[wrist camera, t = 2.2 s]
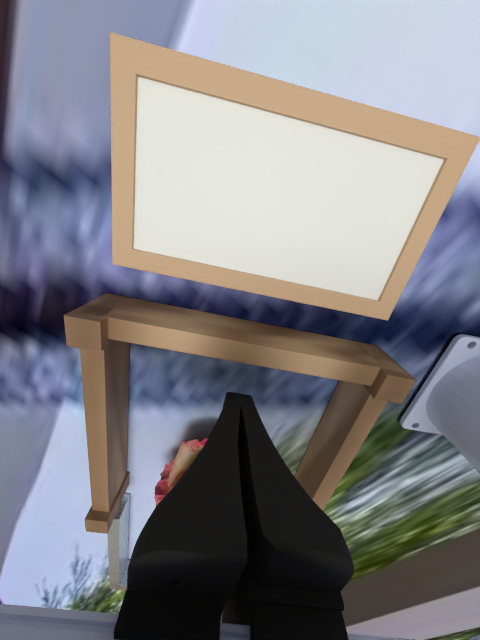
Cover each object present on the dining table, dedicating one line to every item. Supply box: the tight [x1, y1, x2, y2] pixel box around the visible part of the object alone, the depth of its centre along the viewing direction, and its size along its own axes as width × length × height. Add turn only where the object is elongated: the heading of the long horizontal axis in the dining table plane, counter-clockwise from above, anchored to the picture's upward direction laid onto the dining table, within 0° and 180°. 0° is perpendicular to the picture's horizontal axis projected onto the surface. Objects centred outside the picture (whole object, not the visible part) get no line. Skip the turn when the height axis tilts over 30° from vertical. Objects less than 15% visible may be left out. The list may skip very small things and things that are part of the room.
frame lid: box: [110, 32, 480, 320], centre depth 11 cm, size 16×9×1 cm, turn 78°
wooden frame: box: [64, 293, 417, 534], centre depth 16 cm, size 17×18×4 cm
